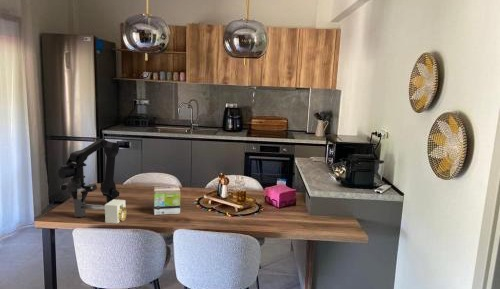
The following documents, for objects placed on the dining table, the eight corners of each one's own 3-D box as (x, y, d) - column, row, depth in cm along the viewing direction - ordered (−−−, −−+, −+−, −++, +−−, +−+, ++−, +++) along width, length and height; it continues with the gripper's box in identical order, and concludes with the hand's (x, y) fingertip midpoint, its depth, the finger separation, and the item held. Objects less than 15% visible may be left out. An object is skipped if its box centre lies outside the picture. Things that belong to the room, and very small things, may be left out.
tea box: (154, 215, 221) (153, 191, 219) (153, 210, 231) (153, 186, 228) (180, 213, 225) (180, 189, 223) (178, 208, 235) (178, 185, 232)
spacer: (124, 217, 216) (124, 205, 215) (126, 218, 216) (126, 205, 215) (118, 222, 209) (118, 209, 208) (120, 222, 209) (120, 209, 208)
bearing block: (114, 216, 218) (113, 199, 217) (125, 217, 218) (125, 200, 216) (105, 222, 209) (104, 204, 207) (117, 223, 208) (117, 205, 206)
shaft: (78, 213, 218) (78, 197, 216) (122, 217, 215) (121, 199, 213) (74, 216, 214) (73, 199, 212) (118, 219, 211) (118, 202, 209)
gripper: (53, 177, 205) (55, 205, 208) (86, 179, 203) (87, 207, 205) (65, 172, 216) (67, 199, 218) (96, 174, 214) (98, 201, 216)
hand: (79, 202), depth 214 cm, fingers closed on shaft, 4 cm apart
